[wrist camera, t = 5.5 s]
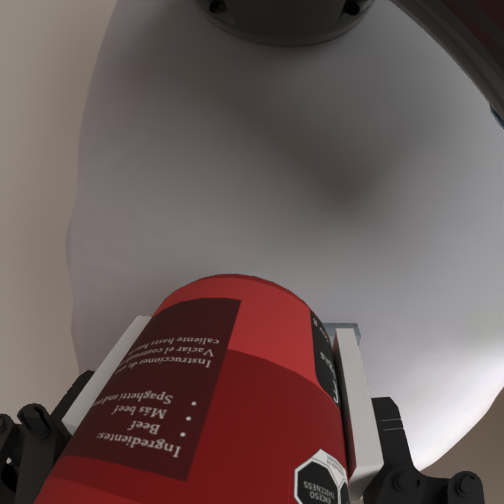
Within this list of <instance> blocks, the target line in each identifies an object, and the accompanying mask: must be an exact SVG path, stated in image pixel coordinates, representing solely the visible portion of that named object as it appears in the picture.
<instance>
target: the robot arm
mask: <svg viewBox="0 0 504 504" xmlns="http://www.w3.org/2000/svg"><path fill="white" fill-rule="evenodd" d="M194 1H195V3H196V4H197V5H198V7H199V8H200V9H201V11H202V12H203V13H204V14H205V16H206V17H207V18H208V19H209V20H210V21H212V22H213V23H214V24H215V25H217V26H218V27H219V28H221V29H223V30H224V31H226V32H228V33H230V34H232V35H234V36H236V37H239V38H241V39H244V40H247V41H251V42H255V43H259V44H264V45H271V46H285V47H288V46H305V45H311V44H317V43H321V42H324V41H328V40H330V39H333V38H336V37H338V36H340V35H342V34H344V33H346V32H347V31H349V30H350V29H352V28H353V27H354V26H356V25H357V24H358V23H359V22H360V21H361V20H362V19H363V18H364V16H365V15H366V14H367V12H368V11H369V9H370V8H371V6H372V5H373V3H374V1H375V0H194ZM390 1H391V2H392V3H394V4H395V5H396V6H397V7H399V8H400V9H401V10H402V11H403V12H405V13H406V14H407V15H408V16H409V17H410V18H412V19H413V20H414V21H415V22H416V23H417V24H418V25H419V26H420V27H422V28H423V29H424V30H425V31H426V32H427V33H428V34H429V35H430V36H431V37H432V38H433V39H434V40H435V41H436V42H437V43H438V44H439V45H440V46H441V47H442V48H443V49H444V50H445V51H446V52H447V53H448V54H449V55H450V56H451V57H452V59H453V60H454V61H455V62H456V63H457V64H458V65H459V66H460V67H461V69H462V70H463V71H464V72H465V73H466V74H467V76H468V77H469V78H470V79H471V80H472V82H473V83H474V84H475V85H476V87H477V88H478V89H479V90H480V92H481V93H482V94H483V95H484V97H485V98H486V99H487V101H488V102H489V104H490V109H491V112H492V114H493V115H494V117H495V119H496V121H497V122H498V123H499V125H500V126H501V127H502V128H503V129H504V0H390ZM151 318H152V317H149V316H140V315H137V317H136V318H135V319H134V321H133V322H132V323H131V325H130V326H129V327H128V329H127V330H126V331H125V332H124V334H123V335H122V336H121V338H120V339H119V340H118V342H117V343H116V344H115V346H114V347H113V349H112V350H111V351H110V353H109V354H108V355H107V357H106V358H105V359H104V361H103V362H102V363H101V365H100V366H99V368H98V369H97V370H96V372H94V371H90V370H87V371H86V372H85V373H83V374H82V375H80V376H79V377H78V378H77V380H76V381H75V382H74V384H73V385H72V387H70V389H69V390H68V391H67V394H65V396H64V397H63V398H62V400H61V401H60V403H59V404H58V406H57V407H56V408H55V410H54V411H53V412H52V414H51V415H49V414H48V412H47V410H46V409H45V408H44V407H43V406H42V405H40V404H36V403H33V404H28V405H26V406H24V407H23V408H22V409H21V410H20V411H19V412H18V414H17V417H18V419H19V420H20V422H21V423H22V424H23V425H22V424H15V423H14V422H13V420H12V419H11V417H10V416H8V415H7V414H0V504H34V502H35V500H36V498H37V496H38V495H39V493H40V491H41V489H42V487H43V485H44V482H45V480H46V479H47V477H48V475H49V474H50V472H51V470H52V468H53V467H54V465H55V463H56V462H57V460H58V458H59V457H60V455H61V454H62V452H63V450H64V449H65V447H66V445H67V444H68V442H69V441H70V439H71V437H72V436H73V434H74V433H75V431H76V429H77V428H78V426H79V425H80V423H81V421H82V420H83V418H84V417H85V415H86V414H87V412H88V411H89V409H90V407H91V406H92V404H93V403H94V401H95V400H96V398H97V397H98V395H99V394H100V392H101V391H102V389H103V388H104V386H105V385H106V383H107V382H108V380H109V379H110V377H111V376H112V374H113V373H114V371H115V370H116V368H117V367H118V365H119V364H120V362H121V361H122V359H123V358H124V356H125V355H126V353H127V352H128V351H129V349H130V348H131V346H132V345H133V343H134V342H135V340H136V339H137V338H138V336H139V335H140V333H141V332H142V330H143V329H144V328H145V326H146V325H147V323H148V322H149V320H150V319H151ZM332 350H333V356H334V362H335V369H336V375H337V382H338V389H339V397H340V404H341V412H342V420H343V429H344V438H345V447H346V457H347V468H348V480H349V492H350V501H355V500H359V499H360V498H361V496H362V495H363V501H364V504H485V502H484V493H483V486H482V482H481V480H480V478H479V477H478V476H477V475H476V474H475V473H472V472H470V471H462V472H459V473H457V474H456V475H454V476H453V477H452V478H451V479H447V478H434V477H428V476H425V475H423V474H422V473H420V472H419V471H418V470H417V469H416V468H415V467H414V465H413V462H412V459H411V455H410V451H409V447H408V443H407V439H406V435H405V431H404V430H403V424H402V420H401V416H400V413H399V409H398V406H397V405H396V404H395V403H394V402H393V400H392V399H391V398H390V397H380V398H371V397H370V393H369V388H368V384H367V380H366V376H365V371H364V367H363V363H362V359H361V355H360V352H359V348H358V344H357V340H356V336H355V333H354V329H353V328H336V330H335V337H334V342H333V348H332ZM8 457H9V458H10V459H11V460H12V461H11V462H10V463H9V464H7V462H6V461H7V459H8Z"/></svg>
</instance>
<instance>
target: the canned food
mask: <svg viewBox="0 0 504 504" xmlns="http://www.w3.org/2000/svg"><path fill="white" fill-rule="evenodd" d="M34 504H350V492H349V480H348V468H347V457H346V447H345V438H344V429H343V420H342V412H341V404H340V397H339V389H338V382H337V375H336V369H335V362H334V356H333V350H332V346H331V342H330V338H329V335H328V333H327V332H326V330H325V328H324V326H323V324H322V323H321V321H320V320H319V319H318V317H317V316H316V315H315V313H314V312H313V311H312V310H311V309H310V308H309V307H308V305H307V304H306V303H305V302H304V301H303V300H301V299H300V298H299V297H298V296H296V295H295V294H294V293H292V292H291V291H289V290H288V289H286V288H284V287H282V286H280V285H278V284H276V283H274V282H271V281H268V280H265V279H261V278H258V277H255V276H248V275H240V274H219V275H214V276H209V277H205V278H201V279H199V280H197V281H194V282H192V283H190V284H188V285H186V286H184V287H181V288H179V289H177V290H176V291H175V292H173V293H172V294H171V295H170V296H168V297H167V298H166V299H165V300H164V301H163V303H162V304H161V305H160V307H159V308H158V309H157V311H156V312H155V313H154V315H153V316H152V318H151V319H150V320H149V322H148V323H147V325H146V326H145V328H144V329H143V330H142V332H141V333H140V335H139V336H138V338H137V339H136V340H135V342H134V343H133V345H132V346H131V348H130V349H129V351H128V352H127V353H126V355H125V356H124V358H123V359H122V361H121V362H120V364H119V365H118V367H117V368H116V370H115V371H114V373H113V374H112V376H111V377H110V379H109V380H108V382H107V383H106V385H105V386H104V388H103V389H102V391H101V392H100V394H99V395H98V397H97V398H96V400H95V401H94V403H93V404H92V406H91V407H90V409H89V411H88V412H87V414H86V415H85V417H84V418H83V420H82V421H81V423H80V425H79V426H78V428H77V429H76V431H75V433H74V434H73V436H72V437H71V439H70V441H69V442H68V444H67V445H66V447H65V449H64V450H63V452H62V454H61V455H60V457H59V458H58V460H57V462H56V463H55V465H54V467H53V468H52V470H51V472H50V474H49V475H48V477H47V479H46V480H45V482H44V485H43V487H42V489H41V491H40V493H39V495H38V496H37V498H36V500H35V502H34Z"/></svg>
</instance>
